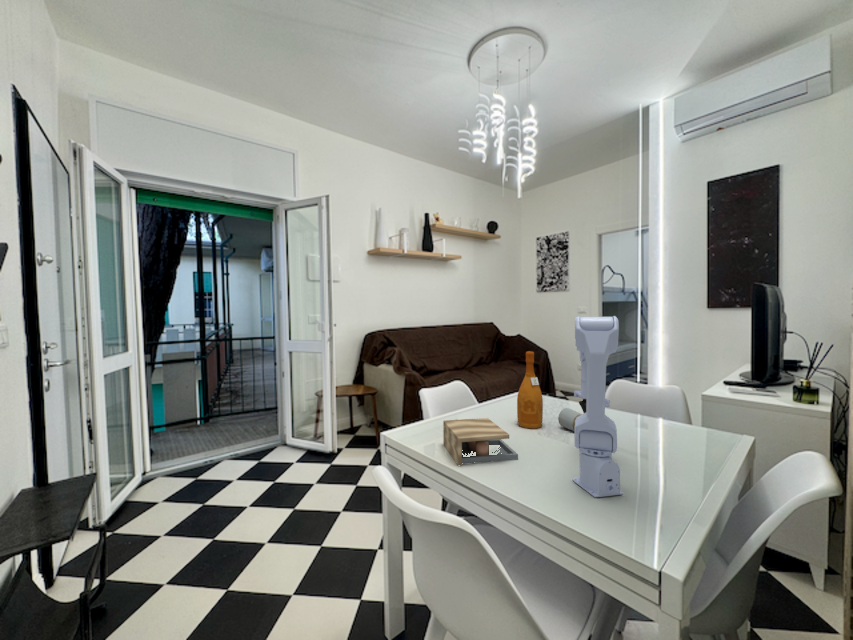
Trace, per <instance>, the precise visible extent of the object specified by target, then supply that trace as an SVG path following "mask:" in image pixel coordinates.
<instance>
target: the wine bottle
mask: <svg viewBox="0 0 853 640" xmlns="http://www.w3.org/2000/svg"><path fill="white" fill-rule="evenodd" d="M525 363H526V364H525V367H526V368H525V375H524V377H523V379H522V382H521V384H520V386H519V389H518V391H517V392H518V393H517V400H516V401H517V403H516V409H517V410H516V411H517V413H516V414H517V418H516V419H517V424H518V425H519V427H521V428H525V429H530V430H533V429H535V430H536V429H539V428H541V427H543V419H544V418H543V416H544V415H543V414H544V413H543V409H544V407H543V406H544V404H543V403H544V401H543V394H542V390H541V387H540V383H539V379H538V377H537V376H536V374H535V368H534V363H535V352H534V351H532V350H528V351H526V352H525Z"/></svg>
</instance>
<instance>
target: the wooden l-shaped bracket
mask: <svg viewBox="0 0 853 640" xmlns="http://www.w3.org/2000/svg"><path fill="white" fill-rule="evenodd" d="M442 428H443V431H442V432H443V433H442V434H443V436H442V437H443V446H444V445H445V446H444V447H445V449H446V448H447V449H446V450H447V452H448V451H449V452H450V453H449V452H448V453H449V454H451V455H452V456H451V455H450V456H451V457H452V459H453V458H454V459H455V460H454V459H453V460H454V462H455V461H456V462H457V463H458V465H463V464H462V442H471V441H484V440H497V439H501V440H506V439H507V440H508V439H510V434H509V433H508V432H507V431H505V430H504V429H502V427H500V426H499V425H497V424H496V423H495V422H493V421H492V420H491V419H489V417H479V418H467V419H466V418H465V419H464V418H463V419H449V420H443V427H442ZM456 462H455V463H456ZM457 463H456V464H457ZM458 465H457V466H458Z"/></svg>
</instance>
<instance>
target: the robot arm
mask: <svg viewBox="0 0 853 640" xmlns="http://www.w3.org/2000/svg"><path fill="white" fill-rule="evenodd" d="M619 323H620V322H619V319H618V318H617V316H616V315H613V316H579V315H578V316H576V317H575V318H574V339H575V346H576V351H578V352H579V360H580V390H574V391H573V397H574V398H580V399H582V400H580V401H578V404H579V406H580V407H581V410H582V412H583V413H581V414H582V415H580V416H578V417H577V418H576V420H575V432H574V447H575V448H576V450H577V449H578V451H579V477H573V478H572V480H571V481H573V482H574V483H575V484H576V485H578V486H579V487H581V488H582V489H583V490H585V491H586V492H587V493H589V494H590V495H591V496H593V497H594V498H602V497H609V496H610V497H611V496H618V495H619V496H620V495H624V492H623V491H622V490H621V468H620V466H619V464H618V463H617V462H616V461H615V460H614V459H613V456H612V455H613V454H615V453H616V452H617V451H618V434H617V430H618V429H617V426H616V423H615V421H614V420H613V419H612V418H611V417H609V416H608V415H606V408H611V405H610V402H611V401H610V400H608V399H607V398H606V384H607V381H606V380H607V365H608V360H609V357H610V355H611V354H614V353H616V352H617V350H618V347H619V334H620V333H619V332H620V327H619V326H620V325H619Z"/></svg>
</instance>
